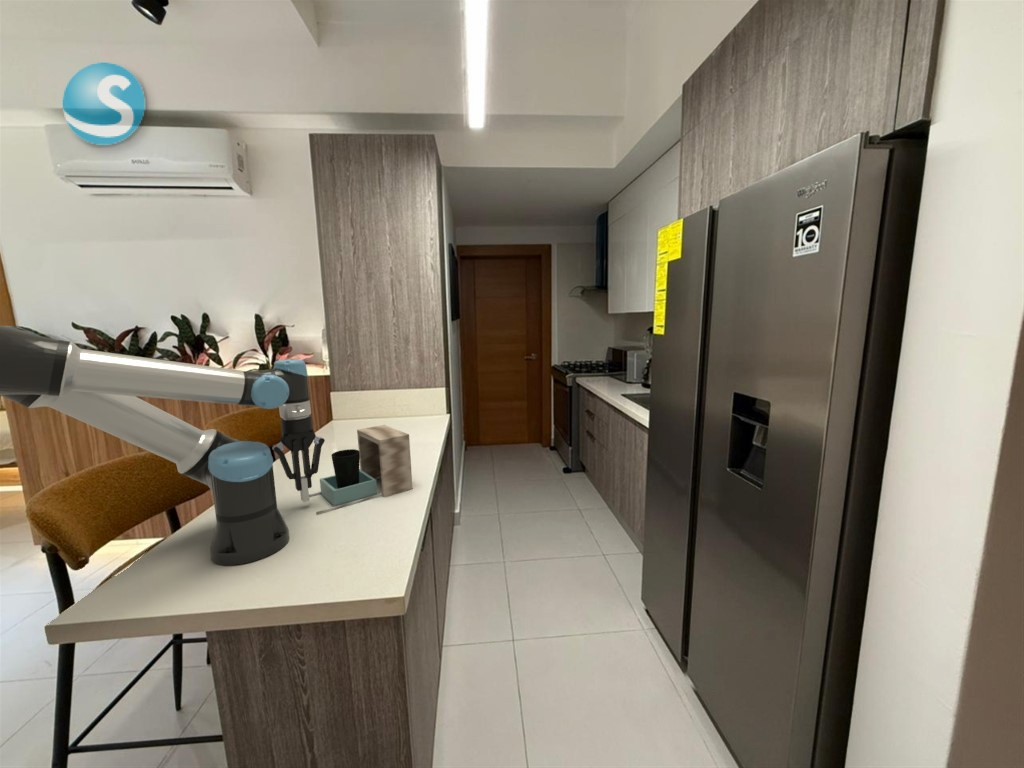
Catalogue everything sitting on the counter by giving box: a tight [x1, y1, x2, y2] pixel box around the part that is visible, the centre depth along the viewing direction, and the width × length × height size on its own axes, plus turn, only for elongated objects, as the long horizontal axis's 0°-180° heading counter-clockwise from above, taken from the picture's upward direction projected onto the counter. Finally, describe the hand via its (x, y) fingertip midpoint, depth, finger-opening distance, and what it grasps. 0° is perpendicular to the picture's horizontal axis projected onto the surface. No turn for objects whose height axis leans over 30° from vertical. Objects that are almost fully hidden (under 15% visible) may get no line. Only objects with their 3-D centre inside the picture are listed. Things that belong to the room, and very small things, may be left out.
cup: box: [331, 448, 360, 489], centre depth 123 cm, size 8×8×12 cm
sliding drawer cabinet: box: [309, 424, 414, 515], centre depth 124 cm, size 27×18×17 cm, turn 130°
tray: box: [319, 468, 378, 507], centre depth 123 cm, size 12×13×5 cm
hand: (305, 500), depth 116 cm, fingers closed
